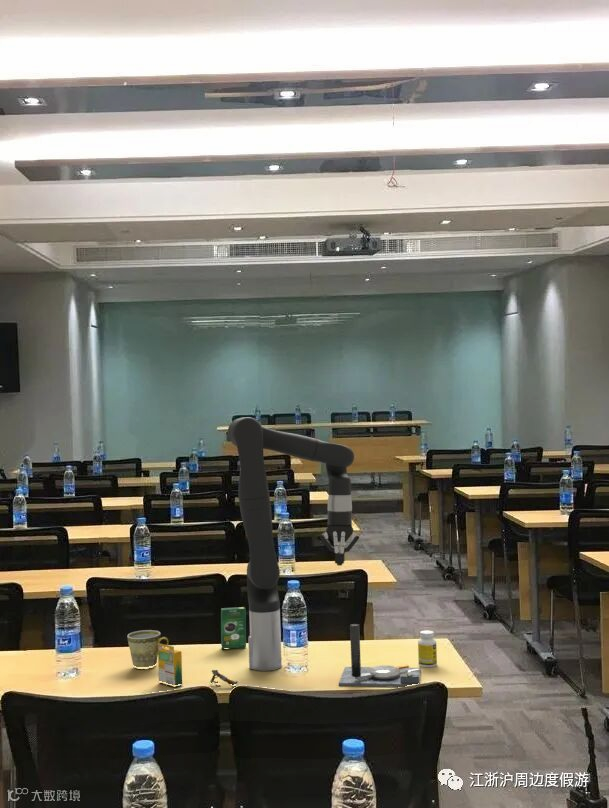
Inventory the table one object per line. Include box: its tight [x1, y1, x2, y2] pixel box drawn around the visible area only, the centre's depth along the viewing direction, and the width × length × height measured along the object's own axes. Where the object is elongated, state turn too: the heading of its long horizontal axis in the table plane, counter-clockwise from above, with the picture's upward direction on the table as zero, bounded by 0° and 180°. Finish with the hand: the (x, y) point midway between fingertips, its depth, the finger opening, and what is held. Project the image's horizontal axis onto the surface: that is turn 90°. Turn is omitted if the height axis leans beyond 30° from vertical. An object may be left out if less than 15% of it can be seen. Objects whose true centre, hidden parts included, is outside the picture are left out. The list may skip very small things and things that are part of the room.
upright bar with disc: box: [349, 623, 410, 680], centre depth 241 cm, size 18×9×15 cm, turn 117°
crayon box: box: [157, 642, 183, 685], centre depth 242 cm, size 7×3×12 cm, turn 48°
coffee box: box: [220, 606, 247, 649], centre depth 278 cm, size 8×3×13 cm, turn 103°
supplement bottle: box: [417, 629, 438, 668], centre depth 252 cm, size 5×5×10 cm
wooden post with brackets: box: [209, 669, 238, 685], centre depth 239 cm, size 2×8×4 cm, turn 69°
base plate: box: [338, 666, 422, 688], centre depth 242 cm, size 22×15×4 cm
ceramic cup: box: [126, 629, 170, 667], centre depth 260 cm, size 13×10×10 cm
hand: (339, 565), depth 265 cm, fingers closed
